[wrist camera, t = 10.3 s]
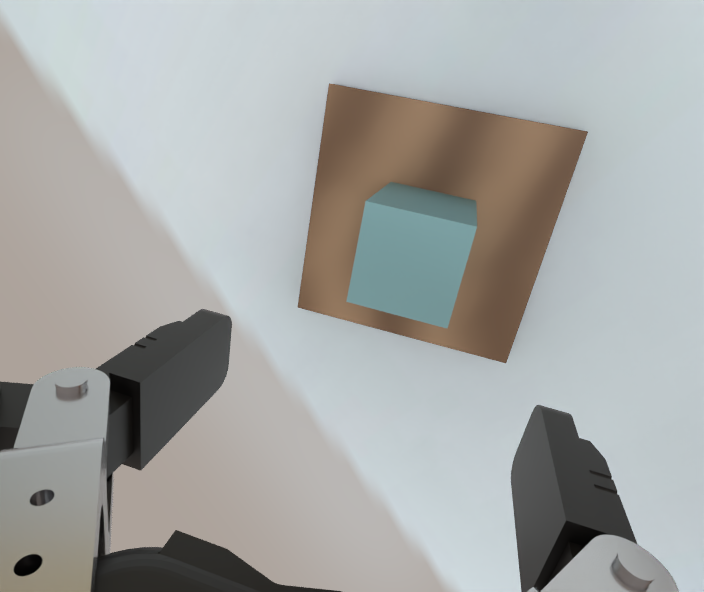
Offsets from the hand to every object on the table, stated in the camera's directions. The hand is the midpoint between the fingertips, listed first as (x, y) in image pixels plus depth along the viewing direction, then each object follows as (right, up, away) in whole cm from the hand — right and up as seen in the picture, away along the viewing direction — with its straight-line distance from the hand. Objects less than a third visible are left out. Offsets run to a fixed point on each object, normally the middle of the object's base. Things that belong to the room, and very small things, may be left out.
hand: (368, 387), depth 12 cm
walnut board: (+4, +7, +17) cm, 18 cm away
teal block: (+4, +6, +16) cm, 17 cm away
